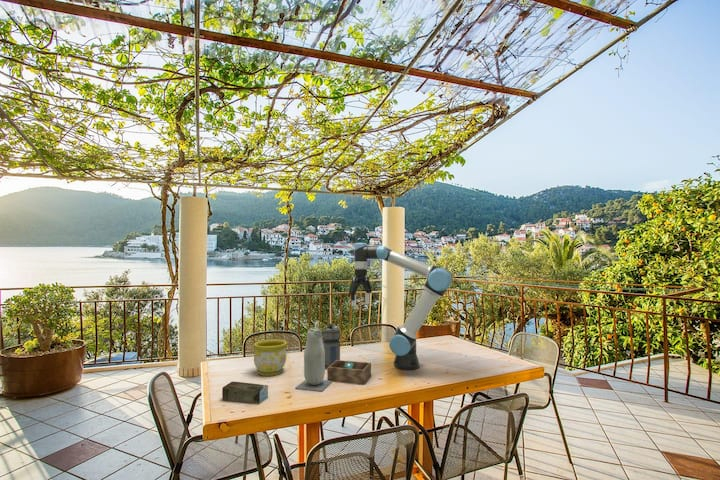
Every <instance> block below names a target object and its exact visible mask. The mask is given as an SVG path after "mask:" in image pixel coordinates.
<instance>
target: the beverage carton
mask: <svg viewBox="0 0 720 480" xmlns="http://www.w3.org/2000/svg"><path fill="white" fill-rule="evenodd" d="M221 394H222V396H221V397H222V401H225V402H227V401H229V402H237V403H246V404H255V403H261V402H262V401H263V402H264V401H266V400H267V399H268V397H269V396H268V395H269V385H267V384H260V383H249V382H241V381H240V382H239V381H230V382H229V383H227V384H225V385H224V386H223V387H222V392H221ZM263 402H262V403H263ZM262 403H261V404H262Z"/></svg>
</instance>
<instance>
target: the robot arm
mask: <svg viewBox="0 0 720 480" xmlns="http://www.w3.org/2000/svg"><path fill="white" fill-rule="evenodd" d="M353 252H354V254H353V255H354V271H353V272H354V276H355V277H354V276H353V277H352V278H351V283H350V287H349V290H348V295H350V297H351V298H350V300H351V307H357V294H356V293H357V291H358V290H359V287H360V286H361V285H362V288H363V289H364V291H365V293H364V297H365V298H364V301H365V302H364V304H365V305H370V299H371V298H370V297H371V295H370V294H371V293H372V291H373V288H372V285H371V283H370V282H371V281H370V277H369V276H367V275H368V260H370V259H371V260H372V259H374V260H377V259H378V260H382V261H383V260H384V261H385V262H388V263H390V264H392V265H395V266H397V267H399V268H402V269H404V270H407V271H409V272H411V273H413V274H417V275H419V276H420V277H422V278H425V280H426V281H425V283H424V284H423V287H424V290H423V292H422V294H421V295H420V297H419V299H418V300H417V301H416V303H415V305H414V306H413V308H412V310H411V311H410V313H409V315H408V316H407V318H406V320H405V321H404V322H403V324H402V325H399V326H398V327H396V331H395V333H394V334H393V336H391V338H389V339H390V340H389V343H388V344H389V345H388V346H389V349H390V350H391V352H392V353H393V354H394V355H395V357H394V360H393V367H394V368H395V369H399V370H403V371H404V370H406V371H407V370H408V371H409V370H410V371H411V370H412V371H414V370H417V369H419V368H420V361H419V358H418V355H417V340H418V335H417V334H418V332H419V330H420V328H421V327H422V326H423V323H424V322H425V320H426V319H427V317H428V316H429V314H430V312H431V310H432V309H433V308H434V305H435V304H436V303H437V301H438V300H439V298H443V297H444V295H445V293H446V292H447V290H448V288H449V287H450V286H452V284H453V274H452V272H451V271H450V270H449V269H447V268H443V267H440V266H436V265H429V264H428V263H427V264H426V263H424V262H422V261H420V260H418V259H415V258H413V257H410V256H407V255H405V254H402V253H400V252H397V251H395V250H392V249H390V248H388V247H387V246H386V245H368V244H367V242H355V244H354V251H353Z"/></svg>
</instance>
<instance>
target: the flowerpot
mask: <svg viewBox="0 0 720 480" xmlns="http://www.w3.org/2000/svg"><path fill="white" fill-rule="evenodd" d="M287 344H288V343H287V341H286V340H284V339H275V338H274V339H264V340H259V341H257V342H254V343H253V347H254V353H253V354H254V355H253V363H254V366H255V368H256V372H257V373H258V375H260V376H264V377H273V376H277V375H280V374H281V373H282V372H283V370H284V366H285V364H286V363H287V362H286V361H287Z"/></svg>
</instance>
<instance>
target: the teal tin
mask: <svg viewBox="0 0 720 480" xmlns="http://www.w3.org/2000/svg"><path fill="white" fill-rule="evenodd" d="M344 368H348V369H354V363H350V362H349V363H345V364H344Z"/></svg>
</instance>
